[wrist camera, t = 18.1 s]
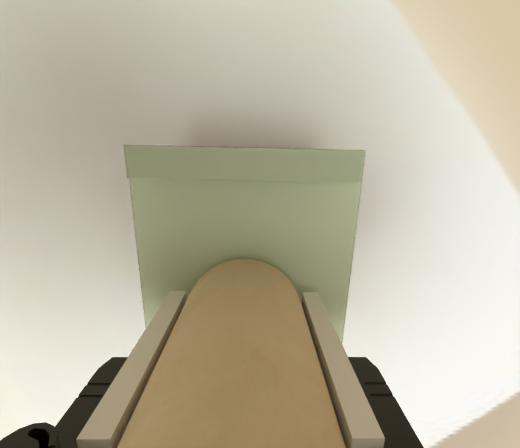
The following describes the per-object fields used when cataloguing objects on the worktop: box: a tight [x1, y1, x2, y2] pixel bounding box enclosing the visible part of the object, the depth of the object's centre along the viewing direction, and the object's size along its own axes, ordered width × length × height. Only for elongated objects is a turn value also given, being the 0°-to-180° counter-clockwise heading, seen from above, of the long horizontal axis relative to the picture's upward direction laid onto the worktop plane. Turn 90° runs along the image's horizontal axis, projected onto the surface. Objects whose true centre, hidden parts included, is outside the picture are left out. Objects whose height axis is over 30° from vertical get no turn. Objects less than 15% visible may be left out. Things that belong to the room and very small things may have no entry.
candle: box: [117, 259, 346, 448], centre depth 8 cm, size 6×6×10 cm
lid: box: [124, 145, 365, 344], centre depth 13 cm, size 14×10×3 cm
